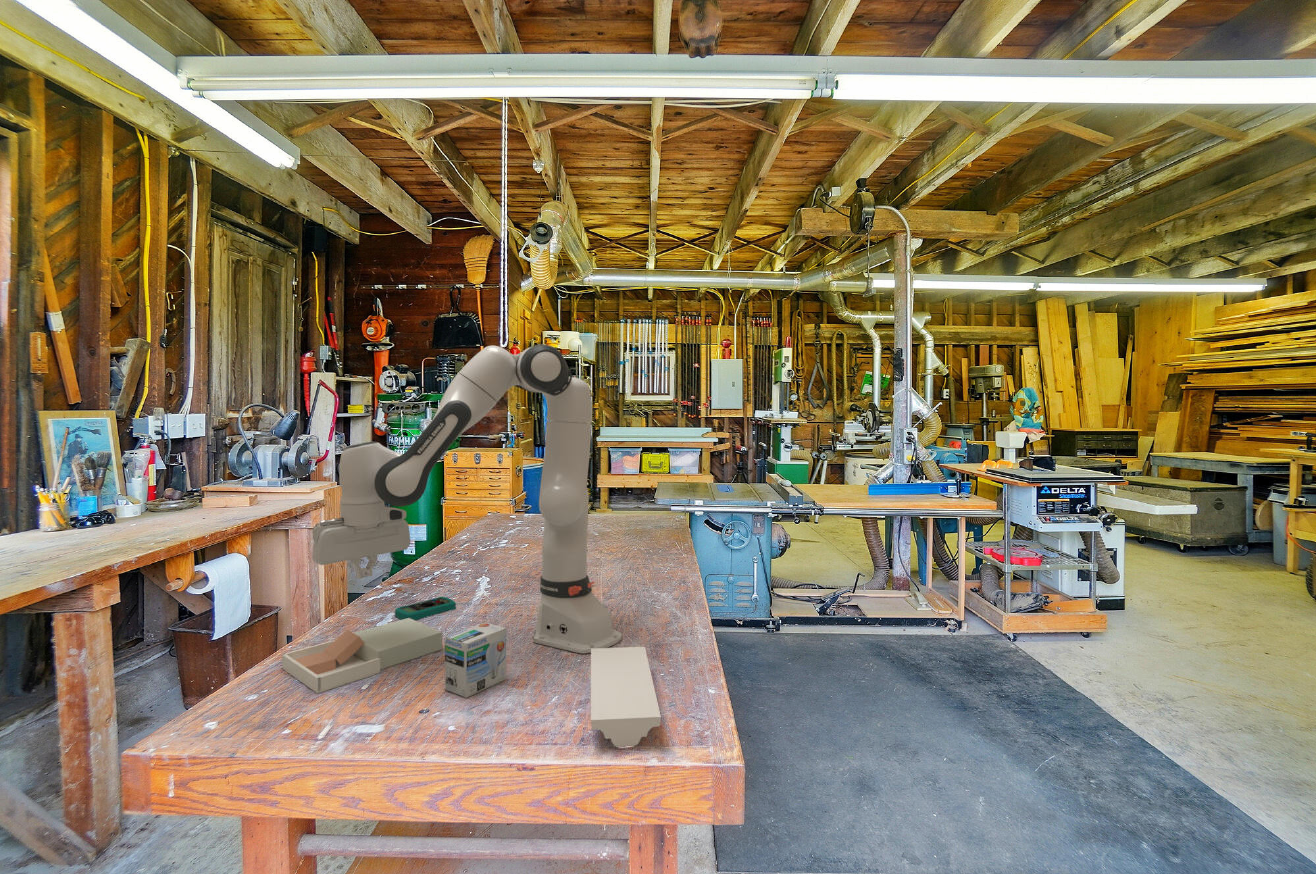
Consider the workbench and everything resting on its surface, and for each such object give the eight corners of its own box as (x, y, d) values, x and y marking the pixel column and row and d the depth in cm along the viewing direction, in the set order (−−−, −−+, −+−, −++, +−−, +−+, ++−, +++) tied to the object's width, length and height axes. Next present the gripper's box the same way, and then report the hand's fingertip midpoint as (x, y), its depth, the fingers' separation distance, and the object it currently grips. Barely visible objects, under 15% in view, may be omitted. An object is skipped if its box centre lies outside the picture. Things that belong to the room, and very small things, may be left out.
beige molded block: (590, 751, 97) (590, 720, 97) (590, 672, 127) (591, 648, 127) (660, 748, 98) (660, 716, 98) (644, 670, 128) (644, 646, 128)
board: (442, 649, 138) (442, 632, 138) (378, 670, 127) (378, 651, 127) (408, 633, 148) (408, 617, 148) (346, 652, 136) (346, 634, 136)
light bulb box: (466, 699, 114) (466, 643, 114) (443, 690, 118) (443, 636, 117) (507, 678, 123) (507, 627, 123) (485, 671, 127) (485, 621, 127)
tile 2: (364, 643, 131) (359, 636, 130) (340, 665, 127) (334, 658, 126) (353, 636, 135) (347, 629, 134) (329, 657, 131) (323, 650, 130)
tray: (380, 672, 125) (380, 658, 125) (317, 693, 116) (317, 678, 116) (341, 650, 137) (341, 638, 137) (282, 668, 127) (281, 654, 127)
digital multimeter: (458, 610, 167) (458, 599, 167) (408, 624, 156) (408, 613, 156) (443, 604, 172) (443, 594, 172) (393, 618, 160) (393, 607, 160)
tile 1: (304, 667, 121) (304, 678, 121) (335, 658, 126) (335, 669, 126) (293, 659, 125) (293, 669, 125) (324, 651, 130) (324, 661, 130)
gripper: (318, 523, 122) (320, 590, 123) (413, 510, 138) (414, 569, 139) (306, 520, 126) (307, 584, 127) (399, 508, 142) (400, 565, 143)
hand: (364, 576), depth 133 cm, fingers closed
